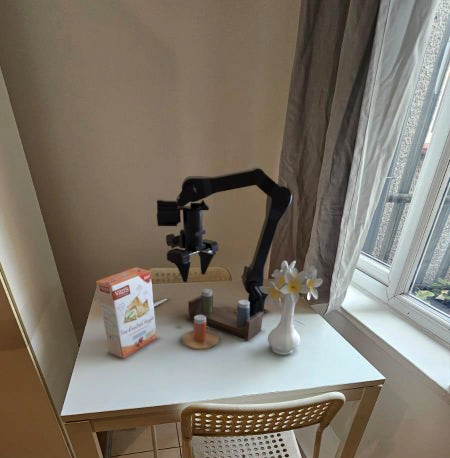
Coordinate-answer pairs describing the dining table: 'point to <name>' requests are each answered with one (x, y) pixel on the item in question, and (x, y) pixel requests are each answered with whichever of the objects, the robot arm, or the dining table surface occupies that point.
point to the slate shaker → (243, 312)
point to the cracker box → (127, 310)
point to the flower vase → (288, 303)
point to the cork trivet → (193, 344)
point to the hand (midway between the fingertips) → (194, 278)
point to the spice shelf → (226, 321)
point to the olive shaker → (207, 301)
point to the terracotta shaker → (200, 328)
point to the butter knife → (159, 302)
